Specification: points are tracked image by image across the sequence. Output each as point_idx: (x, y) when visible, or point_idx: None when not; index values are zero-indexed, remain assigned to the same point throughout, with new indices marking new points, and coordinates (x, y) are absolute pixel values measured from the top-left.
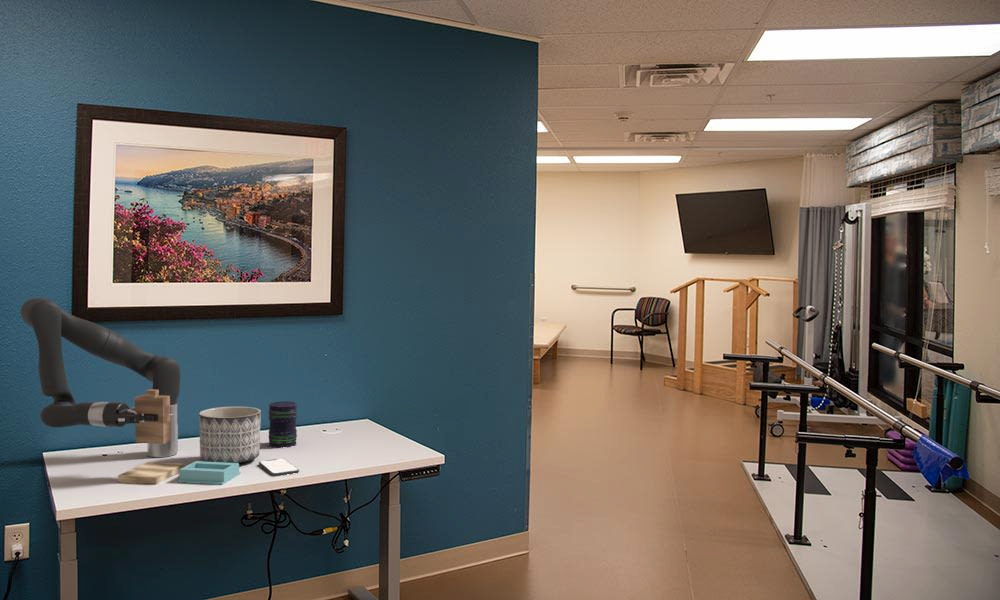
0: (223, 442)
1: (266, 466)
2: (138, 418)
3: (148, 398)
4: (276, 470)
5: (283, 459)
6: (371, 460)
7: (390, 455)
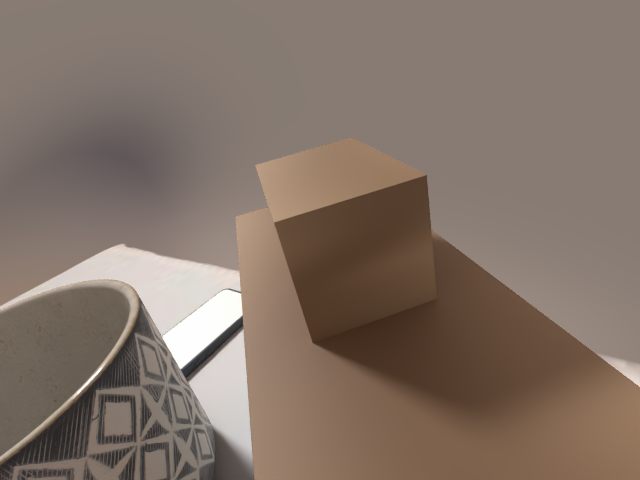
0: (184, 381)
1: (211, 339)
2: None
3: (444, 249)
4: (238, 308)
5: None
6: (131, 275)
7: (98, 277)
